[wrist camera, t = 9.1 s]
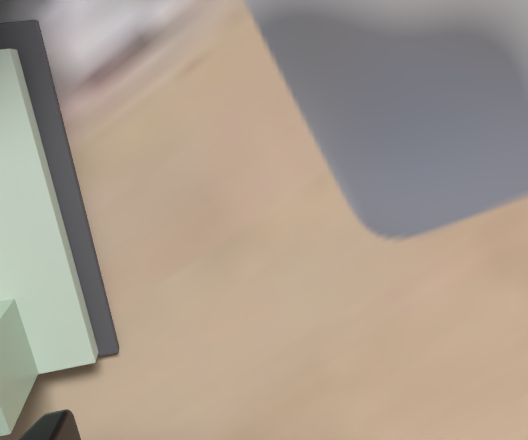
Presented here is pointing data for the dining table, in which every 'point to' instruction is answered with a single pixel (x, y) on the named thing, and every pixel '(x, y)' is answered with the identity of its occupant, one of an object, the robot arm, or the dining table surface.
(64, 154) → the mat
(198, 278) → the dining table surface
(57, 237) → the lid
